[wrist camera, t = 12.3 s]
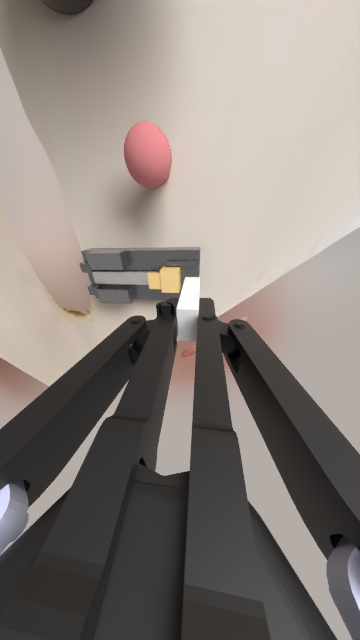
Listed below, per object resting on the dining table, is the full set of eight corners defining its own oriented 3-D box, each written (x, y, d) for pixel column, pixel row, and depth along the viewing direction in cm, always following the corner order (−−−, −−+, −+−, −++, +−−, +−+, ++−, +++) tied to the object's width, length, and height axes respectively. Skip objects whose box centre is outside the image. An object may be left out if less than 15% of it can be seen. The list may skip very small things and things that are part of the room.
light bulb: (139, 185, 33) (112, 170, 23) (148, 138, 30) (119, 96, 19) (171, 200, 34) (157, 192, 24) (183, 156, 30) (174, 125, 20)
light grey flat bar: (97, 282, 41) (95, 283, 41) (94, 270, 40) (91, 271, 39) (163, 283, 39) (162, 285, 38) (162, 271, 38) (161, 272, 37)
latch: (153, 286, 40) (149, 292, 37) (150, 266, 38) (146, 270, 35) (180, 287, 40) (178, 292, 36) (180, 266, 37) (178, 270, 34)
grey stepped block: (104, 292, 48) (90, 302, 42) (91, 248, 41) (72, 253, 35) (198, 294, 44) (197, 305, 38) (200, 247, 38) (199, 252, 32)
